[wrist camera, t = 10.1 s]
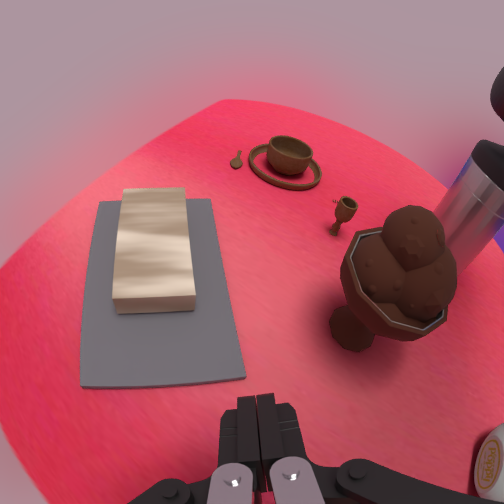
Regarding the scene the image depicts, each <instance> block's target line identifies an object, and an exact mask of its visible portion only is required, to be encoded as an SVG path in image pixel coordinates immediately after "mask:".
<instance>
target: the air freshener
mask: <svg viewBox="0 0 504 504" xmlns="http://www.w3.org/2000/svg"><path fill="white" fill-rule="evenodd" d="M474 481H475V487H476V490H477V493H478V495H479V496H480V497H481V498H484V499H489V500H494V501H499V502H504V423H502V424H501V425H499V426H497V427H496V428H495V429H494V430H492V431H491V432H490V434H489V435H488V436H487V437H486V439H485V441H484V442H483V444H482V446H481V448H480V450H479V453H478V456H477V459H476V464H475V471H474Z"/></svg>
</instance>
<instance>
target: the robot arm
mask: <svg viewBox="0 0 504 504" xmlns="http://www.w3.org/2000/svg"><path fill="white" fill-rule="evenodd" d="M490 100H491V105H492V107H493V109H494V111H495V112H496V113H497V115H498V116H499V117H500V118H501V119H502V120H503V121H504V67H503V68H502V69H501V71H500V72H499V74H498V75H497V77H496V79H495V81H494V83H493V86H492V89H491V94H490ZM433 214H434V215H435V216H436V217H437V218H438V219H439V221H440V222H441V224H442V226H443V227H444V232H445V245H446V246H447V247H448V248H449V249H450V251H451V253H452V255H453V257H454V259H455V261H456V265H457V276H458V275H459V274H460V273H461V272H462V271H463V270H464V269H465V268H466V267H467V266H468V265H469V264H470V263H471V262H472V261H473V260H474V259H475V258H476V256H477V255H478V254H479V253H480V252H481V251H482V250H483V249H484V247H485V246H486V245H487V244H488V243H489V242H490V240H491V239H492V238H493V237H494V236H495V234H496V233H497V232H498V231H499V230H500V228H501V227H502V226H503V225H504V146H502V145H499V144H496V143H493V142H490V141H488V140H480V141H479V142H478V143H477V145H476V146H475V148H474V150H473V151H472V153H471V155H470V157H469V158H468V160H467V162H466V163H465V165H464V167H463V168H462V170H461V171H460V173H459V175H458V176H457V178H456V179H455V181H454V182H453V184H452V185H451V187H450V189H449V190H448V191H447V193H446V194H445V196H444V197H443V199H442V200H441V202H440V203H439V205H438V206H437V208H436V209H435V210H434V212H433ZM256 398H257V404H256ZM256 398H255V395H254V396H245V397H238V398H237V409H233V410H226V411H225V413H224V414H223V416H222V417H221V421H220V438H219V455H218V467H217V469H216V470H215V471H214V472H213V474H212V475H211V476H210V477H209V478H207V479H205V480H202V481H199V482H195V483H191V484H186V483H185V482H183V481H181V480H179V479H172V478H171V479H164V480H161V481H159V482H158V483H156V484H155V485H153V486H152V487H151V488H149V489H148V490H146V491H145V492H144V493H142V494H141V495H139V496H138V497H136V498H135V499H133V500H132V501H131V502H129V503H128V504H262V499H261V493H262V492H267V488H266V481H267V486H268V491H269V492H271V491H273V495H274V500H275V504H504V502H499V501H494V500H489V499H484V498H480V497H475V496H471V495H467V494H463V493H460V492H456V491H452V490H449V489H446V488H442V487H439V486H436V485H433V484H430V483H427V482H424V481H421V480H418V479H415V478H412V477H409V476H407V475H404V474H401V473H399V472H396V471H394V470H391V469H389V468H386V467H384V466H381V465H379V464H376V463H374V462H372V461H369V460H367V459H352V460H349V461H347V462H345V463H344V464H342V465H341V466H340V467H323V466H319V465H316V464H314V463H313V462H311V461H310V460H309V459H308V457H307V455H306V452H305V448H304V444H303V439H302V435H301V431H300V428H299V423H298V420H297V415H296V411H295V409H294V408H293V407H292V406H291V405H290V404H289V403H282V404H275V398H274V393H269V394H261V395H256ZM257 409H258V410H257ZM265 476H266V478H265Z"/></svg>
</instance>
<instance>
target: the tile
mask: <svg viewBox="0 0 504 504" xmlns="http://www.w3.org/2000/svg"><path fill="white" fill-rule="evenodd" d="M195 299H196V292H195V285H194V277H193V268H192V260H191V251H190V241H189V232H188V221H187V210H186V199H185V188H138V189H124V190H123V196H122V203H121V209H120V216H119V224H118V232H117V241H116V251H115V261H114V274H113V290H112V300H113V303H114V305H115V308H116V311H117V314H126V313H152V312H173V311H190V310H195Z"/></svg>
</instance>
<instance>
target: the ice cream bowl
mask: <svg viewBox="0 0 504 504" xmlns="http://www.w3.org/2000/svg"><path fill="white" fill-rule="evenodd" d="M340 279H341V282H342V286H343V289H344V293H345V296H346V300H347V303H348V305H346V306H343V307H340V308H338V309H336V310H334V313H333V315H332V317H331V319H330V321H329V323H330V328H331V332H332V337H333V338H334V339H335V340H336V341H337V342H338V343H339V344H340V345H341V346H342V347H343V348H344V349H348V350H352V351H356V352H360V351H362V350H364V349H366V348H368V347H370V346H371V344H372V341H373V338H374V335H375V334H376V335H380V336H384V337H387V338H391V339H395V340H399V341H414V340H416V339H419V338H421V337H423V336H426V335H427V334H429V333H430V332H431V331H433V330H434V329H436V328H437V327H438V326H440V325H441V324H443V323H444V322H445V321H447V312H448V304H449V303H450V302H451V300H452V299H453V297H454V294H455V291H456V287H457V265H456V261H455V259H454V257H453V255H452V253H451V251H450V249H449V248H448V247H447V246H446V245H445V232H444V227H443V226H442V224H441V222H440V221H439V219H438V218H437V217H436V216H435V215H434V214H433V212H431V211H429V210H427V209H425V208H423V207H421V206H413V205H408V206H405V207H403V208H401V209H398V210H396V211H394V212H392V213H391V214H390V215H389V216H388V217H387V218H386V220H385V223H384V225H383V227H378V228H373V229H367V230H362V231H356V233H355V235H354V237H353V239H352V241H351V243H350V245H349V248H348V250H347V252H346V254H345V256H344V259H343V262H342V265H341V267H340Z"/></svg>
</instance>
